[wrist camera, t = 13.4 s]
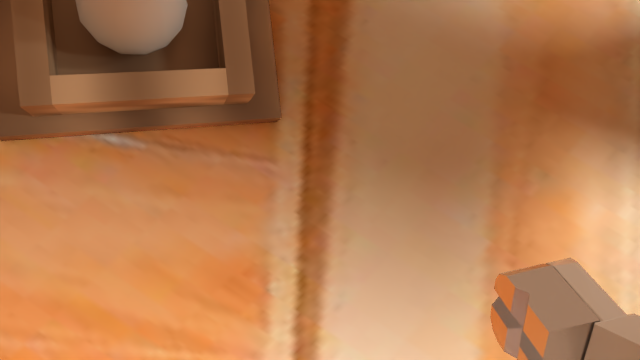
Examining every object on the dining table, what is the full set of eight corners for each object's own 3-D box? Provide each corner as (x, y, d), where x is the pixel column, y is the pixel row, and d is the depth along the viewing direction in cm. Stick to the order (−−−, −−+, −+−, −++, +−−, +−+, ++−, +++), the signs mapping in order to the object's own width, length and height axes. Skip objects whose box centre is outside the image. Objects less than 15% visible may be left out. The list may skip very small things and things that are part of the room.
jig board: (253, -91, 37) (265, -131, 33) (276, 121, 37) (291, 108, 32) (-20, -99, 33) (-48, -147, 29) (2, 140, 32) (-23, 128, 28)
